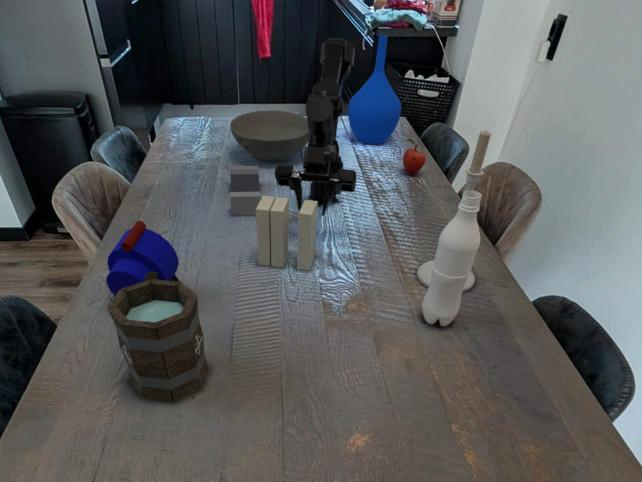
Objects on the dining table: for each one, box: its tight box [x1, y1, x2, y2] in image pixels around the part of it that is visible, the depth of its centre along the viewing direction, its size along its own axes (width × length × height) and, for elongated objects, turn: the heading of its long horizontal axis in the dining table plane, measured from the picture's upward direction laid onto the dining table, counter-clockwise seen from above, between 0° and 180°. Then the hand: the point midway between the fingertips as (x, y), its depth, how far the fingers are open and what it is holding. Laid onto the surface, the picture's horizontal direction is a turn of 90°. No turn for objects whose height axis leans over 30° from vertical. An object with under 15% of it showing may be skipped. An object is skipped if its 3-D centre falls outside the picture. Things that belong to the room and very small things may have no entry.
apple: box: [402, 138, 427, 176], centre depth 147 cm, size 8×7×10 cm
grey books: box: [229, 165, 262, 217], centre depth 133 cm, size 8×21×5 cm, turn 5°
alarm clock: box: [105, 220, 181, 298], centre depth 94 cm, size 12×12×15 cm
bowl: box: [229, 110, 310, 162], centre depth 154 cm, size 26×26×10 cm
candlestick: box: [416, 129, 492, 293], centre depth 97 cm, size 13×13×30 cm
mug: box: [107, 272, 210, 402], centre depth 80 cm, size 20×14×15 cm
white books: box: [255, 195, 290, 268], centre depth 107 cm, size 7×6×13 cm
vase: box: [347, 34, 402, 145], centre depth 161 cm, size 18×18×30 cm
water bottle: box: [421, 190, 483, 327], centre depth 88 cm, size 7×7×25 cm
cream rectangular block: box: [296, 199, 319, 272], centre depth 106 cm, size 7×3×13 cm, turn 167°
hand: (311, 214), depth 111 cm, fingers open, 5 cm apart
